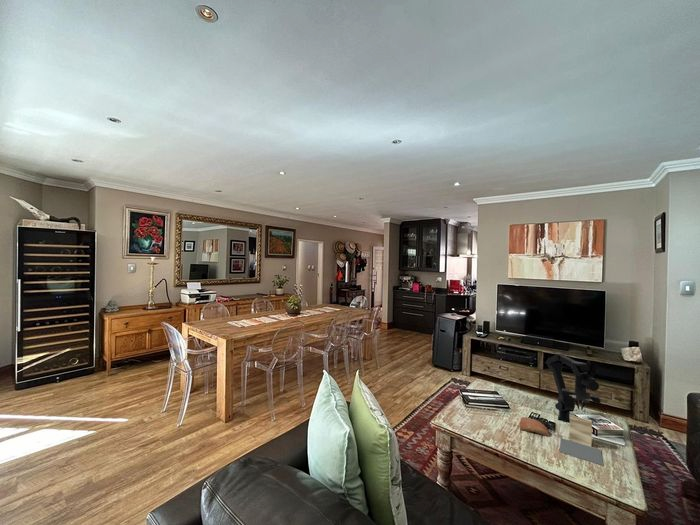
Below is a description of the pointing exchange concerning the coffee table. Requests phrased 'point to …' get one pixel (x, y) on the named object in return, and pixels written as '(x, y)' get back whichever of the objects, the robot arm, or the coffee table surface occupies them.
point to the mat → (581, 451)
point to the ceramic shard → (533, 426)
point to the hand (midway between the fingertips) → (580, 409)
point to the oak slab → (580, 430)
